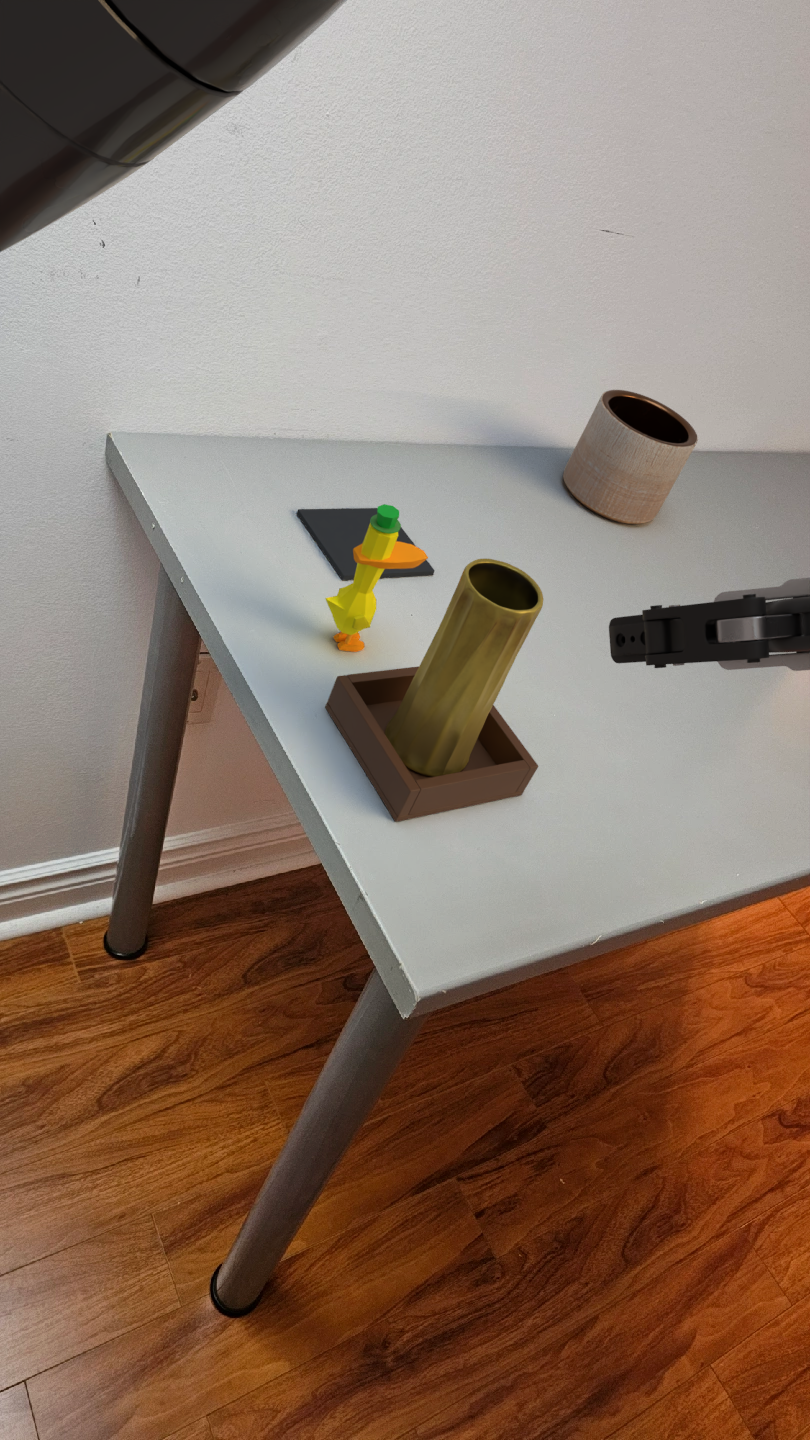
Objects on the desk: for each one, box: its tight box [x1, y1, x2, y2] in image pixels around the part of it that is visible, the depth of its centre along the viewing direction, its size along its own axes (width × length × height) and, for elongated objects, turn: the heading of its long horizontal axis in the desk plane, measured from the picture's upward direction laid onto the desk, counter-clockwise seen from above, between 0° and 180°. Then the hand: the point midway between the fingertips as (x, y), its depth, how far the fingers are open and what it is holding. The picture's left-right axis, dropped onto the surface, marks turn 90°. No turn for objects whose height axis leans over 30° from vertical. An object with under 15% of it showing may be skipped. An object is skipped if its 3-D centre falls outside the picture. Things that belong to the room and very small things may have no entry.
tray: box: [324, 665, 539, 823], centre depth 72 cm, size 11×11×3 cm
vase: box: [385, 558, 544, 777], centre depth 68 cm, size 6×6×14 cm
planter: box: [562, 389, 699, 525], centre depth 109 cm, size 11×11×10 cm
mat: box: [296, 507, 436, 581], centre depth 90 cm, size 9×9×1 cm
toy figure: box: [324, 503, 429, 653], centre depth 75 cm, size 7×4×12 cm, turn 114°
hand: (676, 635), depth 54 cm, fingers open, 8 cm apart
